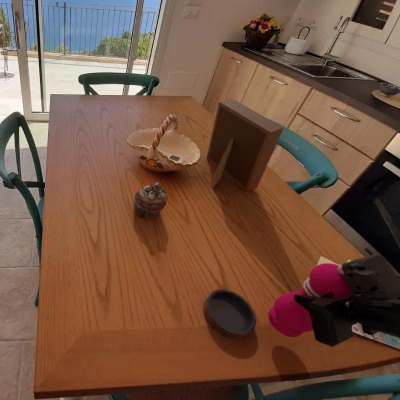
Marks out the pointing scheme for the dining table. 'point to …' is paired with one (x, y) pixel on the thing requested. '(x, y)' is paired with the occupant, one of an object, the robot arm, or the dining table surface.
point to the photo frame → (241, 144)
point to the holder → (229, 314)
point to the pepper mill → (314, 286)
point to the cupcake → (150, 201)
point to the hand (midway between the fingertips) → (304, 293)
